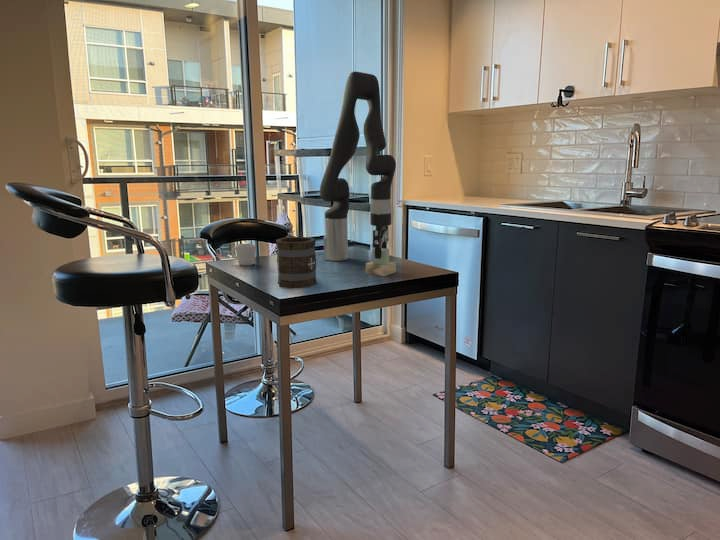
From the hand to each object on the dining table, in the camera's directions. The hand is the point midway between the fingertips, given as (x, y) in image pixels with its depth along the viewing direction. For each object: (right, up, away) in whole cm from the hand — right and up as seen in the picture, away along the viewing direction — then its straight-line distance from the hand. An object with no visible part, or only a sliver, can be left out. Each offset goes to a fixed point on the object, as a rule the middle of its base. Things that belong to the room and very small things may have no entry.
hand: (380, 256), depth 190 cm
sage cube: (0, -2, 0) cm, 2 cm away
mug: (-29, -9, -11) cm, 32 cm away
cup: (-54, -3, +19) cm, 57 cm away
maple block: (0, -6, +1) cm, 6 cm away
